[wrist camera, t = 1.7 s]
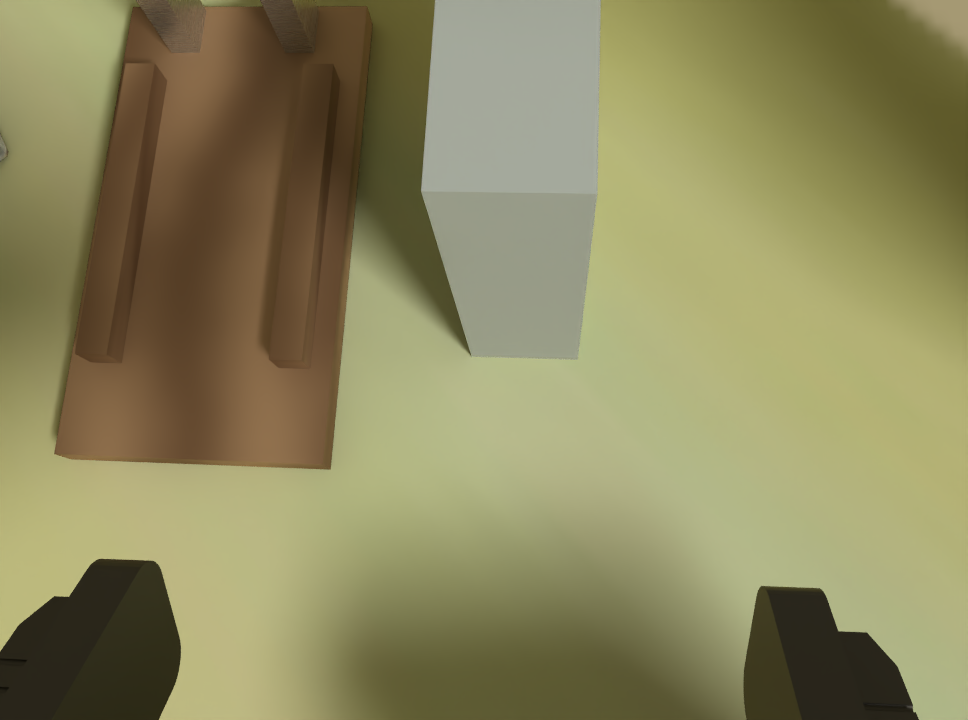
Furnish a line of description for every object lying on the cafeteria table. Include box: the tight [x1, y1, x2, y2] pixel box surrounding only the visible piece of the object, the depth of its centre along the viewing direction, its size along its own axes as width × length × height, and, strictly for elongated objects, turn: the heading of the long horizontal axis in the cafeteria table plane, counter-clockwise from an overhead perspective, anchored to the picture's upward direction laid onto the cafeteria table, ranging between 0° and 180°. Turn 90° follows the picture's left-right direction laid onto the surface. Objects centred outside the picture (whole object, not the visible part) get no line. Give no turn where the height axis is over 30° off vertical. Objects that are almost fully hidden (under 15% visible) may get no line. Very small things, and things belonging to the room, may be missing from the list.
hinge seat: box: [54, 0, 373, 469], centre depth 33 cm, size 10×19×5 cm, turn 177°
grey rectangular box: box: [421, 0, 601, 360], centre depth 28 cm, size 4×11×14 cm, turn 177°
